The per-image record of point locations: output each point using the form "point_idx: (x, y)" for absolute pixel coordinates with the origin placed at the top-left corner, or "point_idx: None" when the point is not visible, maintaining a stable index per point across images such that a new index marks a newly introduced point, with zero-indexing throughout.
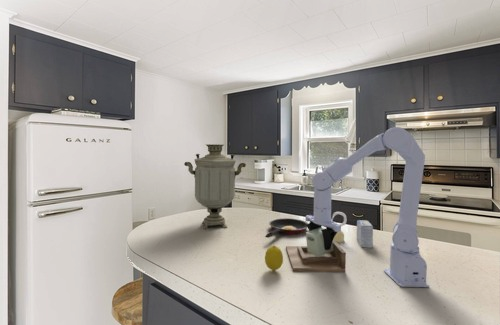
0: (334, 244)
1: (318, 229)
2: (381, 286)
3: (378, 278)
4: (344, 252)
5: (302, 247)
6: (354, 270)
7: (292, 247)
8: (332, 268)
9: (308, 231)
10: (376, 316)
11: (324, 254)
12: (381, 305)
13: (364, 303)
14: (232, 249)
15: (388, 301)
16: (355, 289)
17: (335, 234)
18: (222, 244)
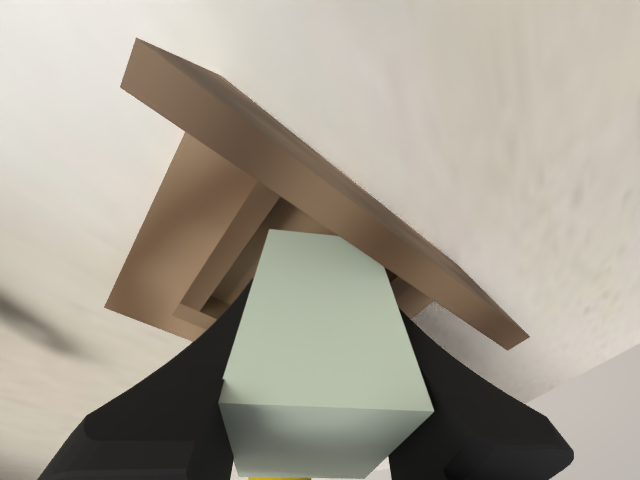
0: (409, 282)
1: (268, 437)
2: (605, 252)
3: (599, 203)
4: (521, 338)
5: (203, 307)
6: (488, 221)
7: (135, 294)
8: (421, 309)
9: (237, 469)
10: (579, 367)
11: (306, 226)
12: (594, 333)
13: (550, 353)
14: (69, 427)
15: (617, 308)
16: (519, 325)
17: (487, 389)
18: (3, 433)
